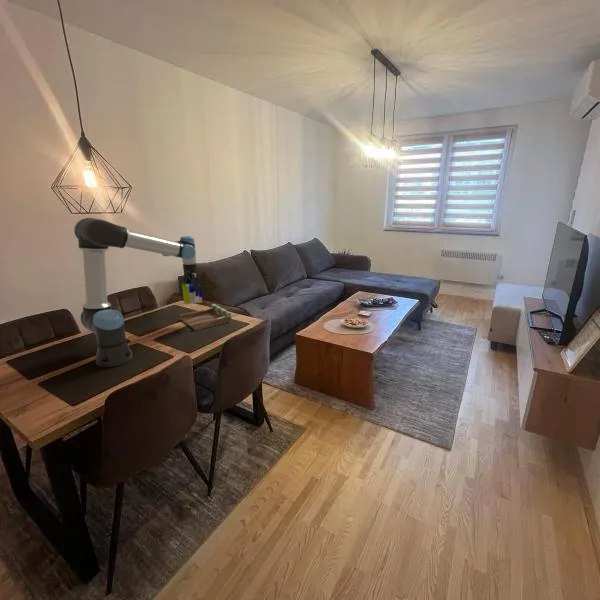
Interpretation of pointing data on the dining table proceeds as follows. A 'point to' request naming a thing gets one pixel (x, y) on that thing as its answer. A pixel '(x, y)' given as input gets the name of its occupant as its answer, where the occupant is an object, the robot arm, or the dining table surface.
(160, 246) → the robot arm
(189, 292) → the puzzle toy
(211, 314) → the board
